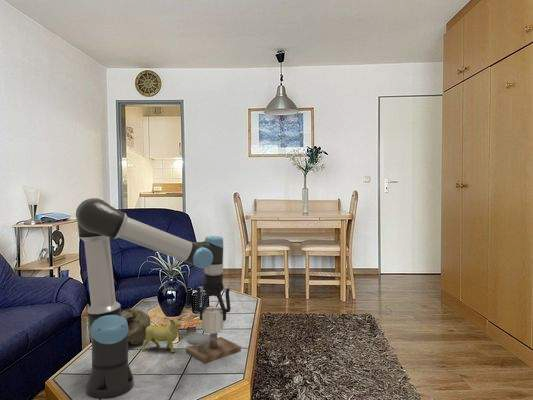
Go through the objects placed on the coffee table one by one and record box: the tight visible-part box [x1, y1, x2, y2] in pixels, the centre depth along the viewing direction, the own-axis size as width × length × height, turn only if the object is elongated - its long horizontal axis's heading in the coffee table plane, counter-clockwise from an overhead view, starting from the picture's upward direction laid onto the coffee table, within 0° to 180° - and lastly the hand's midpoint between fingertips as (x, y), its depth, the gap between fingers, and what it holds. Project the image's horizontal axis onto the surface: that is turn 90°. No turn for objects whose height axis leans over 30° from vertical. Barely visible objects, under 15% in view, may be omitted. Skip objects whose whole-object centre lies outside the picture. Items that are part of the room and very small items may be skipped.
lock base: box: [185, 333, 242, 364], centre depth 173 cm, size 18×14×8 cm
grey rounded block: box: [203, 306, 222, 335], centre depth 172 cm, size 8×7×9 cm
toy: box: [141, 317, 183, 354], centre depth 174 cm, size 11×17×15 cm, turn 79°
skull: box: [121, 307, 151, 346], centre depth 181 cm, size 15×22×15 cm
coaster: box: [186, 333, 210, 345], centre depth 186 cm, size 11×11×1 cm
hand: (212, 328), depth 173 cm, fingers closed on grey rounded block, 7 cm apart
